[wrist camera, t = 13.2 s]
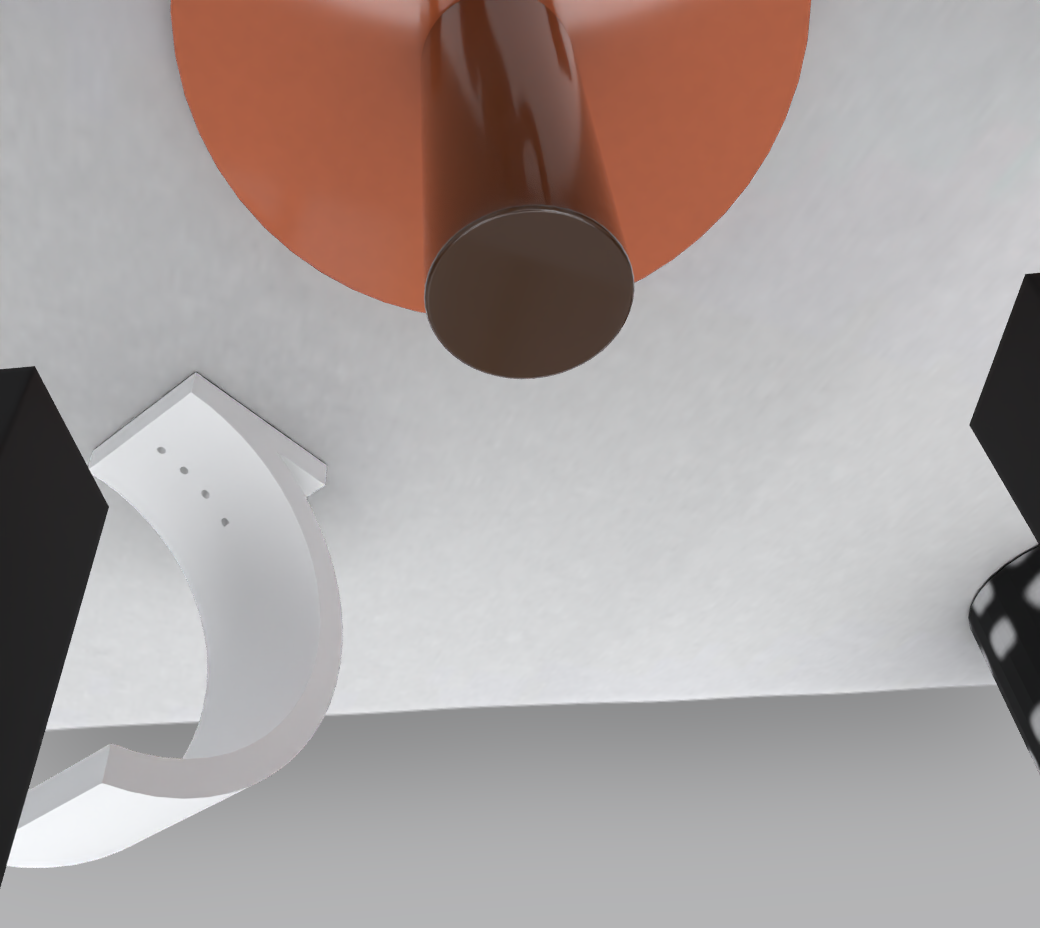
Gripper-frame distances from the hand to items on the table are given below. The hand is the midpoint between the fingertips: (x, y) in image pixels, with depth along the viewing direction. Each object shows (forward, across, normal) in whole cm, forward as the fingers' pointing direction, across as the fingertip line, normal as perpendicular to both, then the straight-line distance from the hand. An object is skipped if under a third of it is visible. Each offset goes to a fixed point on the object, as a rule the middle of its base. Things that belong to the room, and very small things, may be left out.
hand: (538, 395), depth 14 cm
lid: (+10, 0, 0) cm, 11 cm away
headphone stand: (+11, -9, -12) cm, 19 cm away
